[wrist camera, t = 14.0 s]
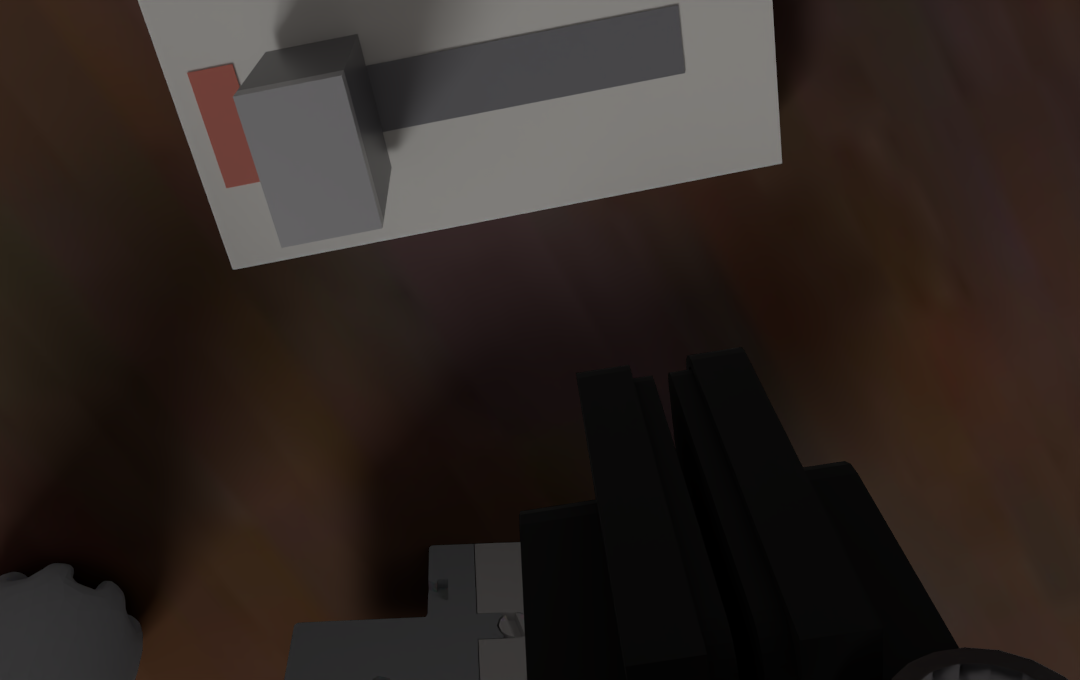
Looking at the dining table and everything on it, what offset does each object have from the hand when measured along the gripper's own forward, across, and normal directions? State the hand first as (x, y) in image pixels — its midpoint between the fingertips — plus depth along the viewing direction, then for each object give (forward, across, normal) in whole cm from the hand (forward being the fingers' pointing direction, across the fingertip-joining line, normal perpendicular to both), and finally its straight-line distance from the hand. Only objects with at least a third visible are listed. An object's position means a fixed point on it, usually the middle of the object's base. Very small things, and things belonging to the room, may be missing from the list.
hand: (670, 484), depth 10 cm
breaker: (+18, +6, 0) cm, 19 cm away
